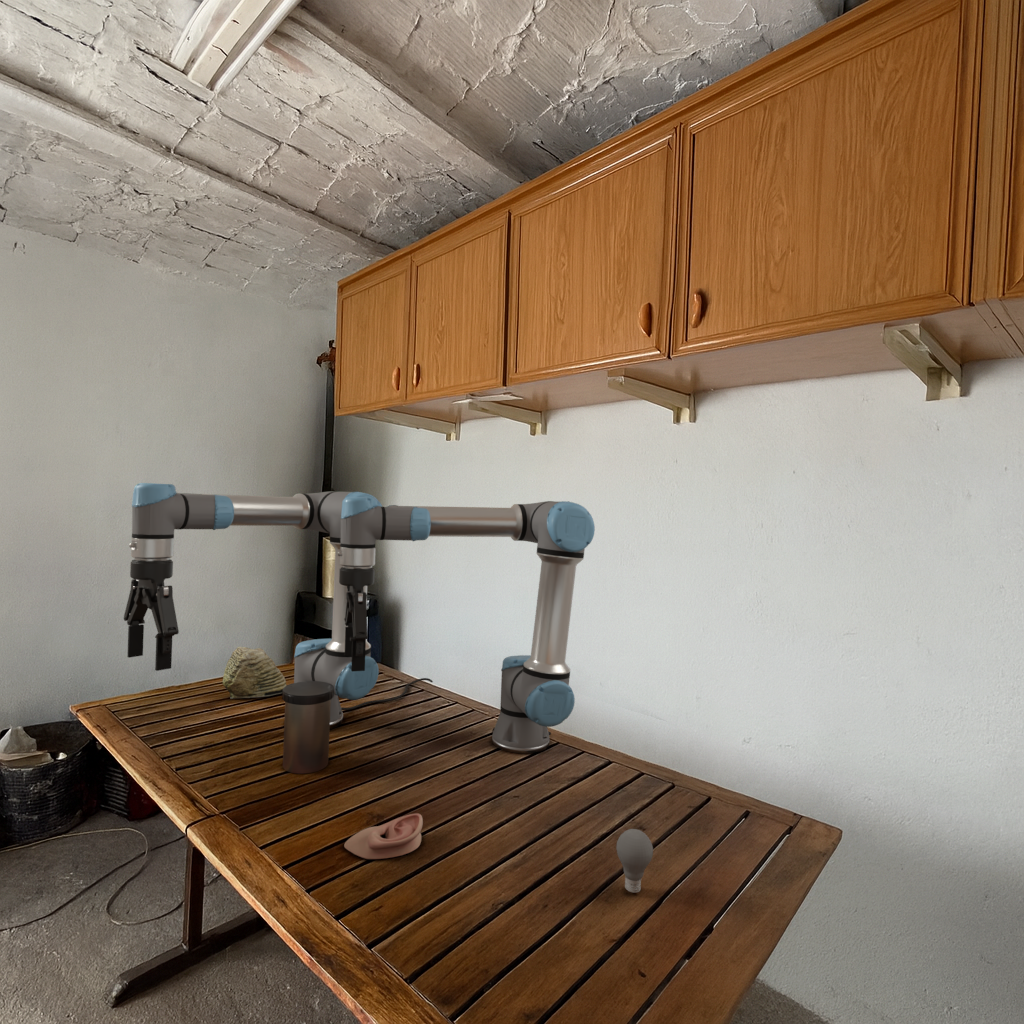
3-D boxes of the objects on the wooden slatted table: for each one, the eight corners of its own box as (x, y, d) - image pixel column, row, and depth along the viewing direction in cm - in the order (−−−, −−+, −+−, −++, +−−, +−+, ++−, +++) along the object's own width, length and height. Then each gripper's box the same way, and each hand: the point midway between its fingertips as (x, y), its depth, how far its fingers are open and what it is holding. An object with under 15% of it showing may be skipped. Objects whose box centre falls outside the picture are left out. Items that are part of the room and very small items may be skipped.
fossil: (218, 695, 195) (220, 647, 195) (278, 685, 208) (279, 640, 207) (228, 703, 189) (230, 653, 188) (289, 692, 201) (290, 645, 201)
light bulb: (610, 879, 108) (613, 822, 108) (644, 879, 109) (647, 822, 109) (619, 902, 102) (622, 840, 102) (655, 901, 103) (658, 840, 103)
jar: (280, 775, 143) (283, 697, 143) (284, 756, 153) (287, 684, 153) (327, 772, 146) (330, 696, 145) (328, 754, 156) (331, 683, 155)
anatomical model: (336, 832, 112) (364, 802, 124) (336, 854, 112) (363, 822, 124) (407, 843, 110) (429, 812, 121) (406, 866, 110) (428, 832, 121)
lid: (279, 706, 142) (279, 696, 142) (284, 690, 153) (284, 681, 153) (333, 704, 145) (333, 694, 145) (334, 688, 156) (334, 680, 156)
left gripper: (108, 554, 134) (104, 654, 134) (159, 565, 118) (155, 678, 119) (146, 552, 140) (143, 648, 140) (199, 563, 124) (195, 671, 124)
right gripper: (334, 560, 150) (331, 649, 150) (345, 573, 126) (342, 679, 127) (366, 560, 152) (363, 648, 153) (383, 573, 129) (380, 676, 130)
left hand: (148, 662), depth 129 cm, fingers open, 13 cm apart
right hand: (354, 662), depth 140 cm, fingers open, 13 cm apart
